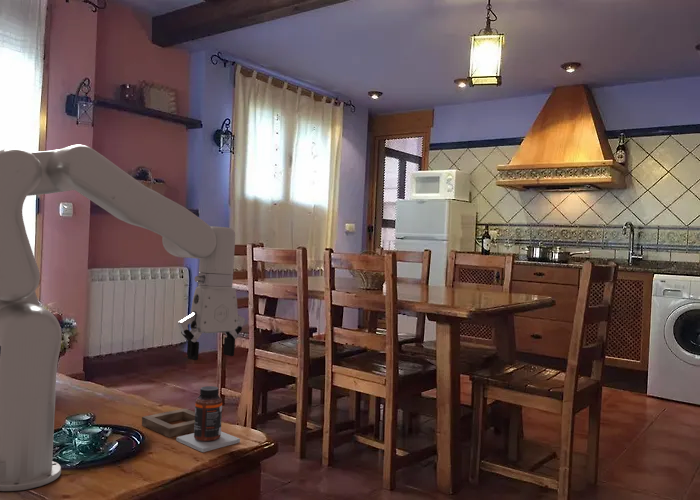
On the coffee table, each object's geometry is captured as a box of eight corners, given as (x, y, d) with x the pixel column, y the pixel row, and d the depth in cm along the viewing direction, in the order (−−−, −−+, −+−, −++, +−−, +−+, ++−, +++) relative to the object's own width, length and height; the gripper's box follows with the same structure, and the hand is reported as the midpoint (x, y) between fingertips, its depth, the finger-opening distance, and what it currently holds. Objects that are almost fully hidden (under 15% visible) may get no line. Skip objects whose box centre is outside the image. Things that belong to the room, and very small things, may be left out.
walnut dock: (168, 437, 133) (169, 428, 133) (141, 425, 141) (142, 416, 141) (212, 427, 142) (213, 418, 142) (184, 416, 150) (185, 408, 150)
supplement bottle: (226, 437, 132) (228, 387, 132) (207, 444, 127) (209, 392, 127) (207, 432, 135) (209, 383, 135) (187, 438, 130) (190, 388, 130)
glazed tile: (202, 452, 124) (202, 448, 124) (176, 440, 131) (176, 437, 131) (239, 442, 132) (239, 438, 132) (213, 431, 139) (213, 428, 139)
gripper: (192, 282, 123) (187, 364, 122) (256, 282, 136) (251, 356, 135) (172, 280, 127) (167, 358, 127) (236, 280, 140) (231, 351, 140)
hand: (211, 357), depth 131 cm, fingers open, 9 cm apart
